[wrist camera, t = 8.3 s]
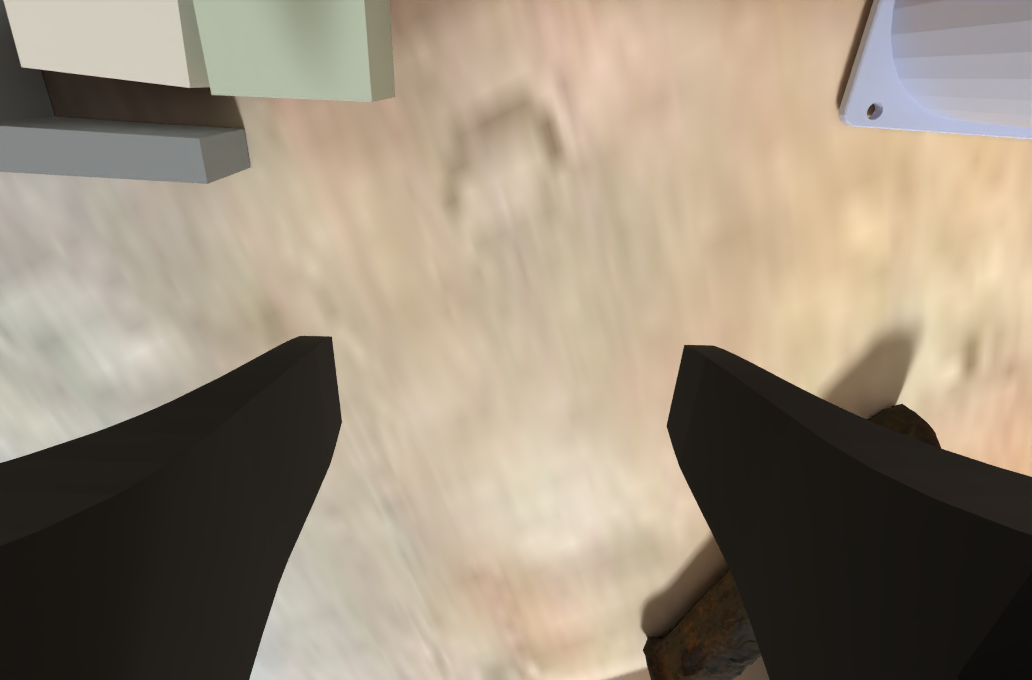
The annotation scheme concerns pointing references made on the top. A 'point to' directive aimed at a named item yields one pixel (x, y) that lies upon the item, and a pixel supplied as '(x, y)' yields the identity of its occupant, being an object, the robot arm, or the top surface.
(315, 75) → the sage green beam
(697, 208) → the top surface
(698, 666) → the hand tool
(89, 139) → the grey frame
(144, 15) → the block
